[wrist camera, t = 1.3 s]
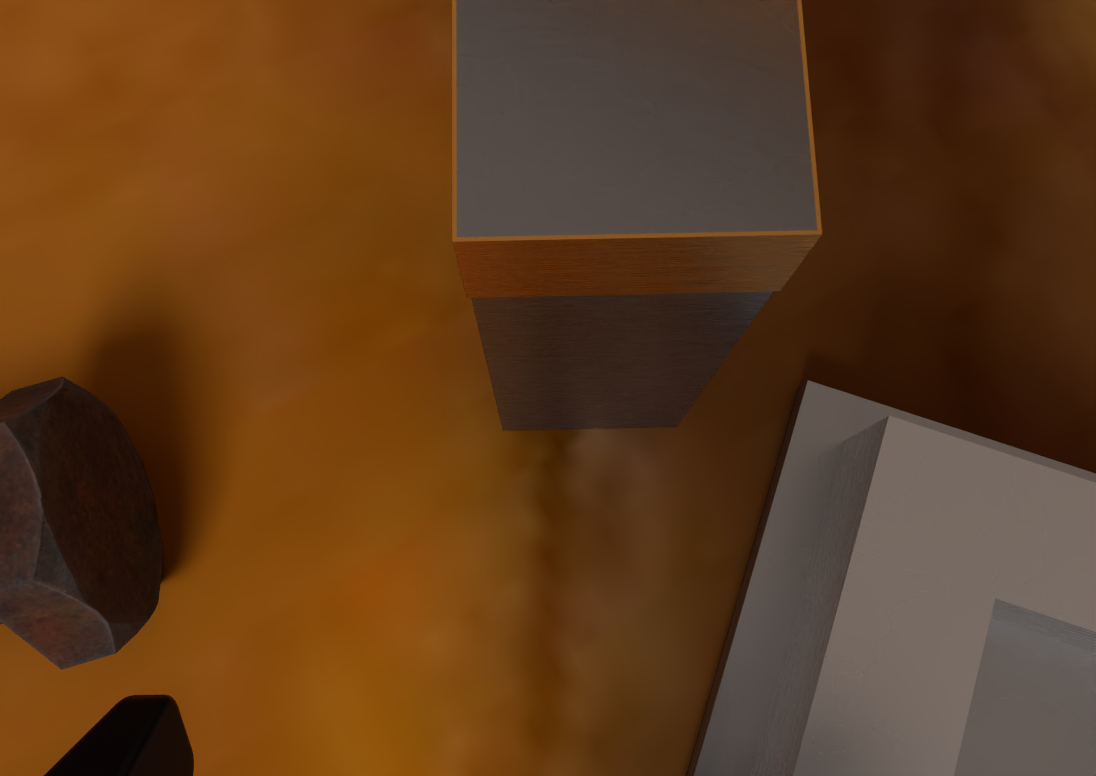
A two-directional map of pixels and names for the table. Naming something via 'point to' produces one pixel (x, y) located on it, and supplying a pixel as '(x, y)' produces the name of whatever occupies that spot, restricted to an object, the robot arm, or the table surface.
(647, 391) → the grey square peg
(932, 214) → the table surface
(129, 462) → the bolt
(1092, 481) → the grey socket base
